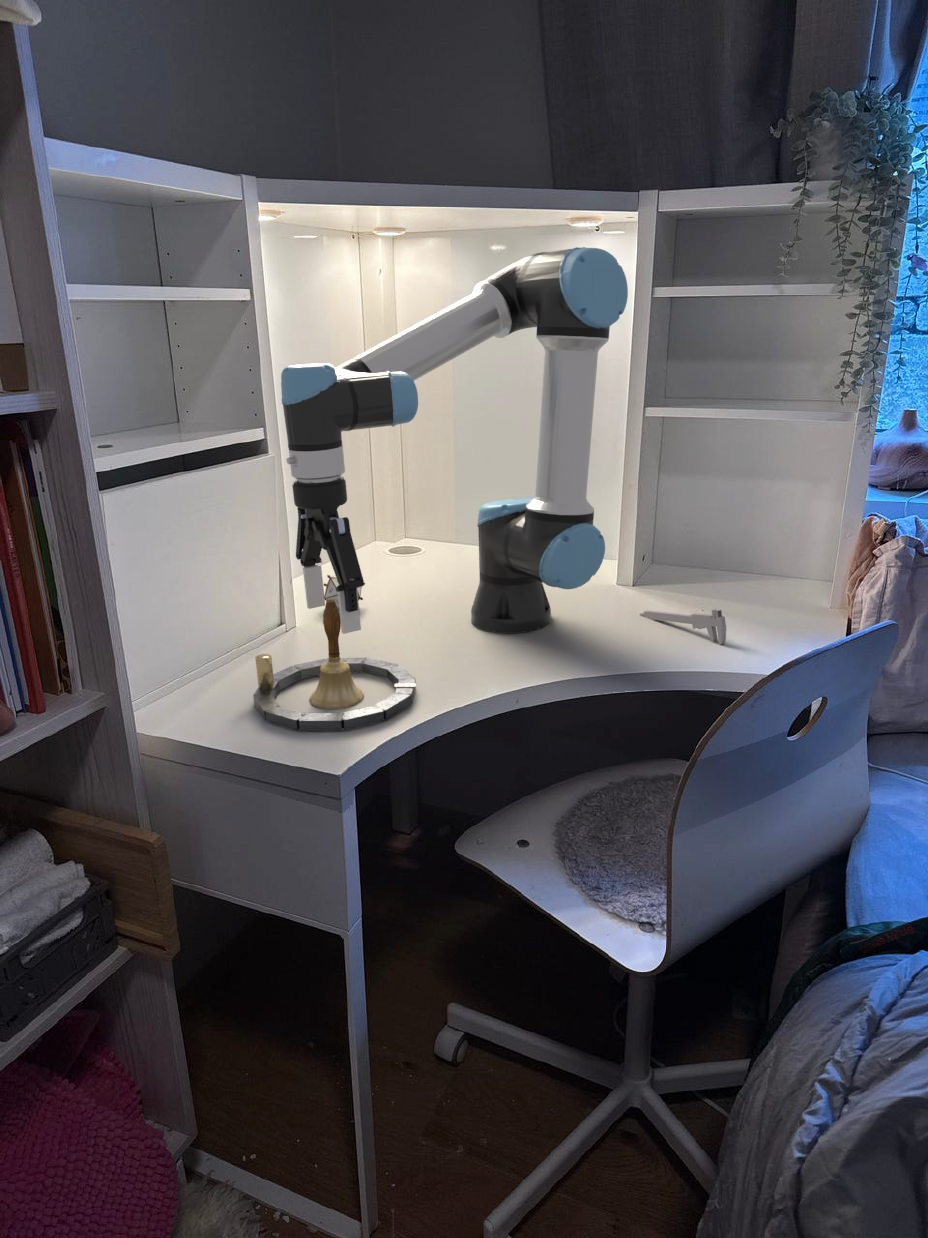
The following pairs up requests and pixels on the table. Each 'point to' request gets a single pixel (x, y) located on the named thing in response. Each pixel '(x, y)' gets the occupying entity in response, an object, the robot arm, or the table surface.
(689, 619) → the caliper
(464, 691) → the table surface
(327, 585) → the game die
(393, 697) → the ring
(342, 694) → the hand bell
